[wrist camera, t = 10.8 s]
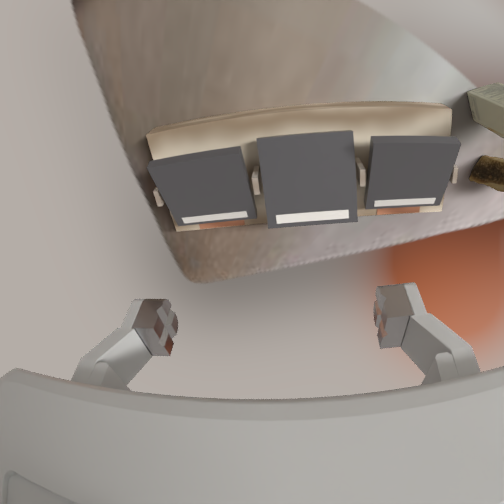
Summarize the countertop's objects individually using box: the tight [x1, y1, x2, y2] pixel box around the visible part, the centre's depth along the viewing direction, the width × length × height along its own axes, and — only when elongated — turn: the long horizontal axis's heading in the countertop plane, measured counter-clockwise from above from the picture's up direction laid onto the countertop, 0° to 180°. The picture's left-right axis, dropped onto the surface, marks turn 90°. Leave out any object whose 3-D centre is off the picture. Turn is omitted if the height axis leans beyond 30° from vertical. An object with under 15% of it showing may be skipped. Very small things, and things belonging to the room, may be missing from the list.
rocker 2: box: [364, 136, 461, 209], centre depth 31 cm, size 10×10×1 cm
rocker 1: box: [147, 146, 257, 226], centre depth 35 cm, size 10×10×1 cm
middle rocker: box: [256, 130, 358, 229], centre depth 33 cm, size 10×10×1 cm
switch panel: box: [146, 101, 458, 232], centre depth 35 cm, size 14×36×6 cm, turn 99°
